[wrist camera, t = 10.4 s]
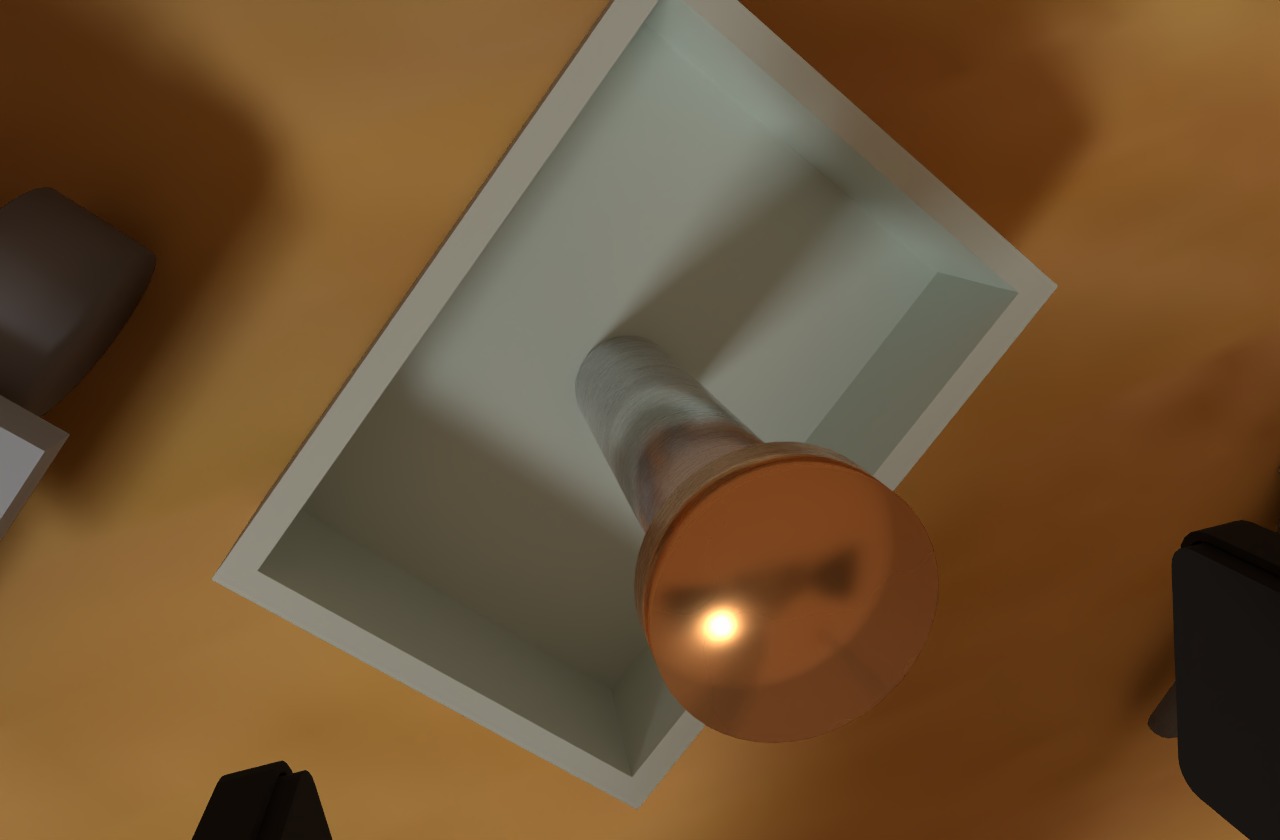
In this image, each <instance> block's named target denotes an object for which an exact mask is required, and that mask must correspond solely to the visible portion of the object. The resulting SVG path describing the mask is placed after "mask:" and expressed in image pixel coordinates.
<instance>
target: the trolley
mask: <svg viewBox="0 0 1280 840" xmlns="http://www.w3.org/2000/svg"><path fill="white" fill-rule="evenodd" d="M155 263H156V257H155V254H154V253H153V252H152V251H150V250H149V249H147V248H145V247H144V246H142V245H141V244H139V243H138V242H136V241H134V240H133V239H131V238H130V237H128V236H127V235H125V234H123V233H122V232H120V231H119V230H117V229H116V228H114V227H112V226H111V225H109V224H108V223H106V222H105V221H103V220H101V219H100V218H98V217H97V216H95V215H94V214H92V213H91V212H89V211H87V210H86V209H84V208H83V207H81V206H80V205H78V204H76V203H75V202H73V201H72V200H70V199H69V198H67V197H65V196H64V195H62V194H61V193H59V192H58V191H56V190H54V189H52V188H47V187H43V188H37V189H34V190H32V191H29V192H27V193H25V194H23V195H21V196H19V197H17V198H16V199H14V200H12V201H11V202H9V203H8V204H7V205H5V206H4V207H2V208H1V209H0V541H1V539H2V538H3V536H4V535H5V533H6V532H7V530H8V529H9V527H10V526H11V524H12V522H13V521H14V519H15V518H16V516H17V515H18V513H19V512H20V510H21V509H22V507H23V506H24V504H25V503H26V501H27V500H28V498H29V497H30V495H31V493H32V492H33V490H34V489H35V487H36V486H37V484H38V483H39V481H40V480H41V478H42V477H43V475H44V474H45V472H46V471H47V469H48V468H49V466H50V464H51V463H52V461H53V460H54V458H55V457H56V455H57V454H58V452H59V451H60V449H61V448H62V446H63V445H64V443H65V442H66V440H67V438H68V437H69V435H70V434H69V433H67V432H65V431H63V430H62V429H60V428H58V427H56V426H54V425H53V424H51V423H49V422H47V421H45V420H44V419H42V418H40V417H41V416H42V415H44V414H45V413H46V412H48V411H49V410H50V409H52V408H53V407H54V406H55V405H56V404H57V403H59V402H60V401H61V400H62V399H63V398H64V397H65V396H66V395H67V394H68V393H69V392H70V391H71V390H72V389H73V388H74V387H75V386H76V385H77V384H78V383H79V382H80V381H81V380H82V379H83V378H84V376H85V375H86V374H87V373H88V372H89V371H90V370H91V368H92V367H93V366H94V365H95V364H96V362H97V361H98V360H99V359H100V358H101V356H102V355H103V354H104V353H105V351H106V350H107V349H108V347H109V346H110V345H111V343H112V342H113V341H114V339H115V338H116V337H117V335H118V334H119V332H120V331H121V330H122V328H123V327H124V325H125V324H126V322H127V321H128V319H129V318H130V316H131V315H132V313H133V311H134V310H135V308H136V306H137V305H138V303H139V301H140V300H141V298H142V296H143V294H144V292H145V290H146V288H147V286H148V284H149V282H150V279H151V277H152V274H153V271H154V268H155Z"/></svg>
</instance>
